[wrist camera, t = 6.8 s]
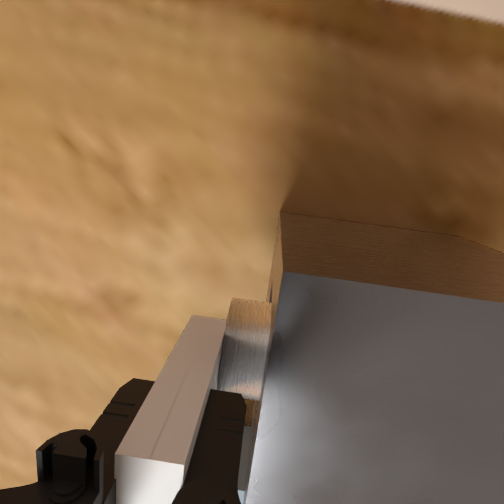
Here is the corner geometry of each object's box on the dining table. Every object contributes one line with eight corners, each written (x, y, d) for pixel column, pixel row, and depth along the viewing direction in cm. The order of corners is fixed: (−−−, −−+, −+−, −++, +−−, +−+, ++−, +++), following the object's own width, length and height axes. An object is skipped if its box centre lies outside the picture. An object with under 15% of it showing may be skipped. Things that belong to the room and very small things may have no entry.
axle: (227, 357, 16) (213, 417, 12) (236, 284, 15) (224, 324, 11) (627, 415, 15) (745, 497, 12) (664, 344, 14) (808, 407, 11)
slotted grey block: (258, 351, 22) (238, 548, 11) (279, 212, 20) (283, 271, 8) (415, 376, 22) (573, 610, 10) (458, 236, 19) (733, 336, 8)
